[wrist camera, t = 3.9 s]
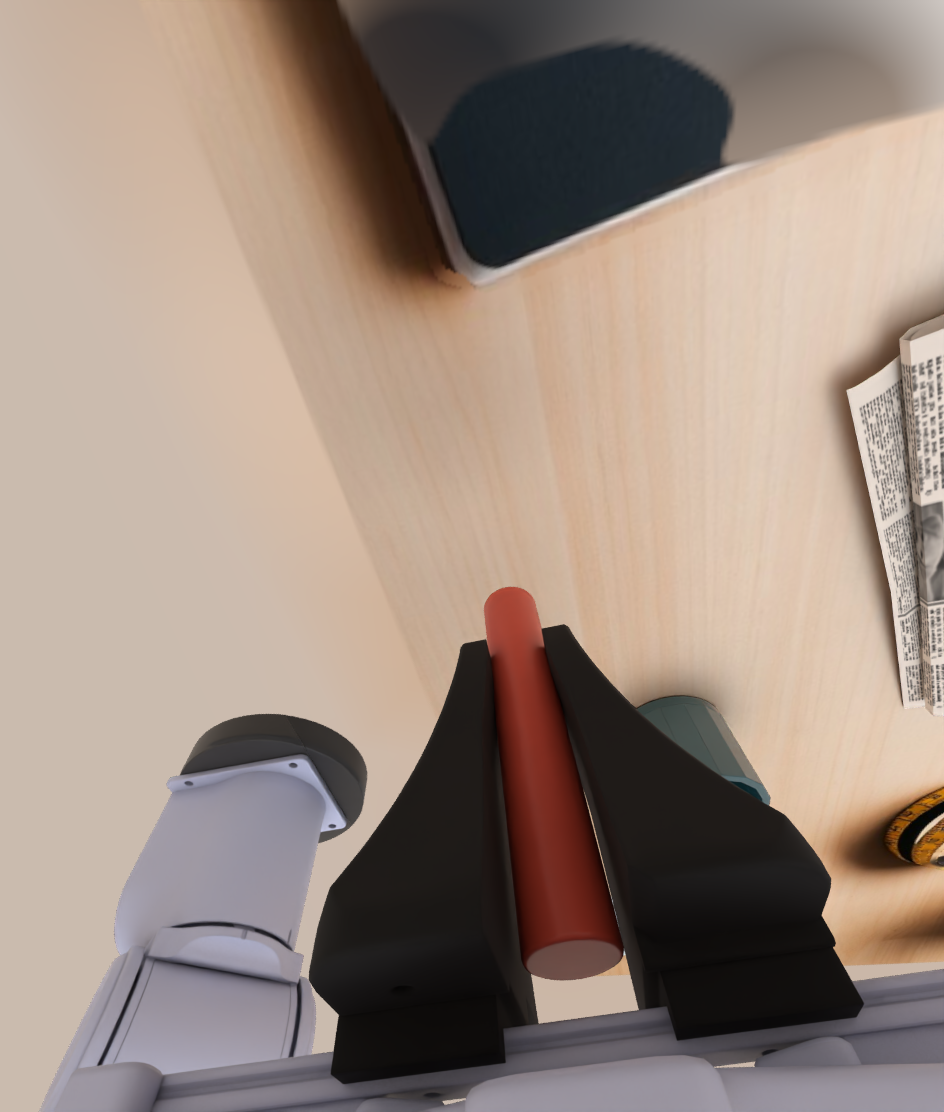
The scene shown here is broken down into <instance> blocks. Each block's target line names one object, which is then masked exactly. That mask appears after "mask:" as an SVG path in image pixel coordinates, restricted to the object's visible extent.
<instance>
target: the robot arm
mask: <svg viewBox="0 0 944 1112" xmlns="http://www.w3.org/2000/svg"><path fill="white" fill-rule="evenodd" d="M541 630H542V636H543V641H544V647H545V651H546V655H547V659H548V663H549V667H550V671H551V675H552V678H553V680H554V683H555V686H556V689H557V692H558V695H559V698H560V702H561V705H562V709H563V713H564V717H565V721H566V725H567V728H568V732H569V736H570V740H571V744H572V748H573V752H574V756H575V759H576V763H577V767H578V771H579V775H580V779H581V783H582V786H583V789H584V792H585V795H586V798H587V802H588V805H589V808H590V812H591V815H592V819H593V823H594V827H595V831H596V835H597V839H598V843H599V847H600V851H601V855H602V859H603V863H604V867H605V871H606V876H607V880H608V884H609V888H610V892H611V896H612V900H613V904H614V908H615V912H616V916H617V921H618V925H619V929H620V933H621V937H622V941H623V945H624V950H625V954H626V958H627V962H628V966H629V971H630V975H631V979H632V983H633V987H634V991H635V996H636V1000H637V1004H638V1008H639V1010H637V1011H630V1012H623V1013H615V1014H608V1015H600V1016H593V1017H585V1018H578V1019H571V1020H564V1021H556V1022H549V1023H542V1024H538V1018H537V1011H536V1004H535V998H534V991H533V984H532V978H531V973H529V972H528V971H527V970H526V969H525V968H524V966H523V963H522V961H521V954H520V945H519V935H518V926H517V916H516V907H515V897H514V888H513V879H512V869H511V860H510V850H509V841H508V831H507V822H506V813H505V803H504V794H503V784H502V775H501V765H500V756H499V747H498V737H497V728H496V718H495V702H494V682H493V673H492V664H491V656H490V653H489V649H488V645H487V641H486V640H480V641H475V642H470V643H465V644H463V645H462V647H461V649H460V654H459V659H458V663H457V667H456V670H455V674H454V677H453V680H452V684H451V687H450V689H449V692H448V695H447V698H446V701H445V704H444V706H443V709H442V711H441V714H440V716H439V719H438V721H437V723H436V726H435V728H434V730H433V733H432V735H431V737H430V739H429V741H428V744H427V746H426V748H425V750H424V752H423V754H422V756H421V758H420V759H419V761H418V763H417V765H416V767H415V769H414V771H413V772H412V774H411V776H410V778H409V779H408V781H407V783H406V784H405V786H404V788H403V789H402V791H401V793H400V794H399V796H398V798H397V799H396V801H395V802H394V804H393V805H392V807H391V808H390V810H389V812H388V813H387V814H386V816H385V817H384V819H383V820H382V821H381V823H380V824H379V826H378V827H377V829H376V830H375V831H374V833H373V834H372V835H371V837H370V838H369V840H368V841H367V842H366V844H365V845H364V846H363V848H362V849H361V850H360V852H359V853H358V854H357V855H356V856H355V858H354V859H353V860H352V861H351V862H350V864H349V865H348V866H347V868H346V869H345V870H344V871H343V872H342V874H341V875H340V876H339V877H338V879H337V880H336V881H335V882H334V883H333V884H332V886H331V887H330V889H329V892H328V895H327V898H326V901H325V904H324V908H323V911H322V914H321V918H320V921H319V925H318V928H317V933H316V938H315V943H314V949H313V954H312V960H311V965H310V970H309V981H310V982H309V981H308V979H307V978H304V977H301V976H300V972H301V967H302V962H303V957H304V956H303V955H302V954H299V953H296V952H294V949H295V945H296V941H297V935H298V931H299V927H300V922H301V918H302V913H303V909H304V904H305V900H306V895H307V891H308V886H309V882H310V877H311V873H312V868H313V863H314V859H315V855H316V850H317V846H318V841H319V837H320V832H324V831H330V830H336V829H341V828H344V827H345V826H346V824H347V819H346V817H345V816H344V814H343V812H342V811H341V809H340V807H339V806H338V804H337V802H336V801H335V799H334V797H333V796H332V794H331V792H330V791H329V789H328V788H327V786H326V784H325V783H324V781H323V779H322V778H321V776H320V774H319V773H318V771H317V769H316V768H315V766H314V764H313V763H312V761H311V759H310V758H309V757H308V756H307V755H305V754H298V755H292V756H286V757H281V758H275V759H270V760H264V761H258V762H253V763H247V764H241V765H236V766H230V767H224V768H219V769H213V770H207V771H202V772H196V773H191V774H185V775H179V776H174V777H171V778H170V779H169V780H168V782H167V787H168V788H169V789H170V790H171V791H172V794H171V796H170V798H169V800H168V802H167V804H166V806H165V808H164V810H163V812H162V814H161V816H160V818H159V820H158V822H157V824H156V825H155V827H154V829H153V831H152V833H151V835H150V837H149V839H148V841H147V843H146V845H145V847H144V849H143V851H142V853H141V854H140V857H139V858H138V860H137V862H136V864H135V866H134V868H133V870H132V872H131V874H130V876H129V878H128V880H127V882H126V884H125V886H124V888H123V891H122V894H121V897H120V900H119V903H118V907H117V912H116V918H115V927H114V935H115V943H116V946H117V949H118V952H119V954H120V956H119V957H117V958H116V959H115V960H114V961H113V962H112V964H111V966H110V967H109V969H108V971H107V973H106V975H105V976H104V978H103V980H102V982H101V984H100V986H99V988H98V990H97V992H96V993H95V995H94V998H93V999H92V1001H91V1003H90V1005H89V1007H88V1009H87V1011H86V1013H85V1015H84V1017H83V1019H82V1021H81V1023H80V1025H79V1027H78V1029H77V1031H76V1033H75V1036H74V1037H73V1039H72V1041H71V1044H70V1046H69V1048H68V1050H67V1052H66V1054H65V1056H64V1058H63V1060H62V1062H61V1064H60V1066H59V1069H58V1071H57V1073H56V1075H55V1077H54V1079H53V1081H52V1084H51V1086H50V1088H49V1090H48V1092H47V1094H46V1097H45V1099H44V1101H43V1103H42V1106H41V1108H40V1110H39V1112H944V969H940V970H932V971H925V972H918V973H910V974H903V975H895V976H889V977H881V978H873V979H867V980H859V981H852V980H851V979H850V977H849V975H848V973H847V972H846V970H845V968H844V966H843V965H842V963H841V961H840V959H839V957H838V956H837V954H836V952H835V950H834V949H833V947H835V944H836V942H835V939H834V936H833V935H832V933H831V931H830V929H829V928H828V926H827V924H826V923H825V921H824V919H823V917H822V916H821V915H822V912H823V909H824V906H825V904H826V901H827V898H828V895H829V892H830V888H831V877H830V876H829V874H828V872H827V871H826V869H825V867H824V865H823V863H822V862H821V860H820V858H819V857H818V856H817V854H816V853H815V851H814V850H813V849H812V847H811V846H810V845H809V844H808V842H807V841H806V840H805V838H804V837H803V836H802V835H801V833H800V832H799V831H798V830H797V828H796V827H795V826H794V825H793V824H792V822H791V821H790V820H789V819H788V818H787V817H786V816H785V815H784V814H783V813H781V812H779V811H777V810H776V809H774V808H772V807H770V806H769V805H767V804H765V803H764V802H762V801H760V800H758V799H757V798H755V797H754V796H752V795H750V794H749V793H747V792H745V791H744V790H742V789H741V788H739V787H737V786H736V785H734V784H733V783H731V782H730V781H728V780H727V779H725V778H724V777H722V776H721V775H719V774H718V773H716V772H715V771H713V770H712V769H710V768H709V767H708V766H706V765H705V764H704V763H702V762H701V761H699V760H698V759H697V758H695V757H694V756H693V755H691V754H690V753H689V752H687V751H686V750H684V749H683V748H682V747H680V746H679V745H678V744H676V743H675V742H674V741H673V740H672V739H670V738H669V737H668V736H667V735H665V734H664V733H663V732H662V731H661V730H659V729H658V728H657V727H656V726H655V725H654V724H652V723H651V722H650V721H649V720H648V719H647V718H646V717H645V716H643V715H642V714H641V713H640V712H639V711H638V710H637V709H636V708H635V707H634V706H633V705H632V704H631V703H630V702H629V701H628V700H627V699H626V698H625V697H624V696H623V695H622V694H621V693H620V692H619V691H618V690H617V689H616V688H615V687H614V686H613V685H612V684H611V683H610V681H609V680H608V679H607V678H606V677H605V676H604V674H603V673H602V672H601V671H600V670H599V669H598V668H597V666H596V665H595V664H594V663H593V662H592V660H591V659H590V658H589V657H588V655H587V654H586V653H585V651H584V650H583V649H582V647H581V646H580V644H579V643H578V642H577V640H576V639H575V637H574V635H573V634H572V632H571V630H570V629H569V627H568V626H566V625H564V624H563V625H558V626H553V627H548V628H543V629H541ZM310 983H311V984H312V986H313V988H314V989H315V991H316V992H317V993H318V994H319V995H320V996H321V997H322V998H323V999H324V1000H325V1001H326V1002H327V1003H328V1004H329V1005H330V1006H331V1007H332V1008H333V1009H334V1010H335V1011H336V1012H337V1013H338V1014H339V1017H338V1024H337V1032H336V1038H335V1045H334V1052H327V1053H320V1054H313V1055H311V1053H312V1047H313V1041H314V1034H315V1024H316V1007H315V1006H316V1005H315V1000H314V997H313V994H312V988H311V985H310ZM754 1061H756V1062H755V1067H733V1068H714V1066H722V1065H730V1064H738V1063H746V1062H754ZM461 1098H466V1100H464V1101H460V1102H456V1103H452V1104H448V1105H444V1103H443V1102H442V1101H445V1100H453V1099H461Z"/></svg>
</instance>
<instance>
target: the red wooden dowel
mask: <svg viewBox="0 0 944 1112" xmlns="http://www.w3.org/2000/svg"><path fill="white" fill-rule="evenodd" d="M484 615H485V624H486V634H487V643H488V649H489V653H490V656H491V664H492V673H493V682H494V702H495V718H496V728H497V737H498V747H499V756H500V765H501V775H502V784H503V794H504V803H505V813H506V822H507V831H508V841H509V850H510V860H511V869H512V879H513V888H514V897H515V907H516V916H517V926H518V935H519V945H520V954H521V961H522V963H523V966H524V968H525V969H526V970H527V971H528V972H529V973H531V974H533V975H535V976H538V977H542V978H545V979H551V980H576V979H583V978H587V977H591V976H595V975H598V974H600V973H603V972H605V971H607V970H609V969H611V968H612V967H614V966H615V965H617V964H618V963H619V962H620V961H621V959H622V957H623V953H624V945H623V942H622V938H621V934H620V930H619V926H618V922H617V918H616V914H615V911H614V907H613V903H612V899H611V895H610V891H609V887H608V883H607V880H606V876H605V872H604V868H603V864H602V860H601V856H600V852H599V849H598V845H597V841H596V837H595V833H594V829H593V825H592V821H591V818H590V814H589V810H588V806H587V802H586V798H585V794H584V790H583V787H582V783H581V779H580V775H579V771H578V767H577V763H576V759H575V756H574V752H573V748H572V744H571V740H570V736H569V732H568V728H567V725H566V721H565V717H564V713H563V709H562V705H561V702H560V698H559V695H558V692H557V689H556V686H555V683H554V680H553V678H552V675H551V671H550V667H549V663H548V659H547V655H546V651H545V647H544V641H543V636H542V630H541V629H542V628H541V624H540V620H539V616H538V612H537V608H536V604H535V601H534V599H533V597H532V596H531V595H530V594H529V593H528V592H527V591H525V590H523V589H521V588H518V587H505V588H501V589H499V590H497V591H495V592H494V593H492V594H491V595H490V596H489V598H488V599H487V601H486V603H485V606H484Z"/></svg>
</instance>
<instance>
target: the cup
mask: <svg viewBox="0 0 944 1112" xmlns="http://www.w3.org/2000/svg"><path fill="white" fill-rule="evenodd" d="M637 710H638V711H639V712H640V713H641V714H642V715H643V716H645V717H646V718H647V719H648V720H649V721H650V722H651V723H652V724H654V725H655V726H656V727H657V728H658V729H659V730H661V731H662V732H663V733H664V734H665V735H667V736H668V737H669V738H670V739H672V740H673V741H674V742H675V743H676V744H678V745H679V746H680V747H682V748H683V749H684V750H686V751H687V752H689V753H690V754H691V755H693V756H694V757H695V758H697V759H698V760H699V761H701V762H702V763H704V764H705V765H706V766H708V767H709V768H710V769H712V770H713V771H715V772H716V773H718V774H719V775H721V776H722V777H724V778H725V779H727V780H728V781H730V782H731V783H733V784H734V785H736V786H737V787H739V788H741V789H742V790H744V791H745V792H747V793H749V794H750V795H752V796H754V797H755V798H757V799H758V800H760V801H762V802H764V803H765V804H767V805H769V804H770V795H769V794H768V792H767V790H766V789H765V787H764V785H763V784H762V782H761V780H760V779H759V777H758V775H757V774H756V772H755V770H754V769H753V767H752V765H751V764H750V762H749V761H748V759H747V757H746V756H745V754H744V752H743V751H742V749H741V747H740V746H739V744H738V742H737V741H736V739H735V737H734V736H733V734H732V732H731V731H730V729H729V727H728V726H727V724H726V722H725V721H724V719H723V718H722V716H721V714H720V713H719V711H718V710H717V709H716V708H715V707H714V706H713V705H712V704H710V703H709V702H707V701H705V700H703V699H699V698H696V697H690V696H673V697H666V698H662V699H658V700H655V701H652V702H649V703H647V704H645V705H643V706H641V707H639V708H637Z"/></svg>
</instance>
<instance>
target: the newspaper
mask: <svg viewBox="0 0 944 1112" xmlns="http://www.w3.org/2000/svg"><path fill="white" fill-rule="evenodd" d="M899 341H900V353H901V354H900V355H899V356H898V357H897V358H895V359H894V360H893V361H892V362H890V363H889V364H888V365H887V366H885V367H884V368H883V369H882V370H880V371H879V372H878V373H876V374H875V375H873V376H872V377H870V378H868V379H867V380H865V381H864V382H862V383H860V384H859V385H857V386H856V387H853V388H850V389H848V390H847V394H848V399H849V404H850V408H851V413H852V417H853V422H854V426H855V431H856V435H857V440H858V445H859V449H860V454H861V458H862V463H863V467H864V472H865V476H866V481H867V486H868V490H869V495H870V499H871V504H872V508H873V513H874V517H875V522H876V527H877V531H878V536H879V540H880V545H881V549H882V554H883V558H884V563H885V568H886V572H887V577H888V581H889V586H890V590H891V598H892V607H893V616H894V625H895V634H896V643H897V652H898V661H899V669H900V678H901V687H902V696H903V705H904V708H919V707H925V708H926V709H927V710H928V711H929V712H930V713H931V714H932V715H933V716H944V314H943V315H941V316H938V317H936V318H934V319H931V320H929V321H926V322H924V323H922V324H919V325H917V326H915V327H912V328H910V329H909V330H908V331H907V332H906V333H905V334H904V335H903V336H902V337H901V338H900V339H899Z"/></svg>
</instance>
